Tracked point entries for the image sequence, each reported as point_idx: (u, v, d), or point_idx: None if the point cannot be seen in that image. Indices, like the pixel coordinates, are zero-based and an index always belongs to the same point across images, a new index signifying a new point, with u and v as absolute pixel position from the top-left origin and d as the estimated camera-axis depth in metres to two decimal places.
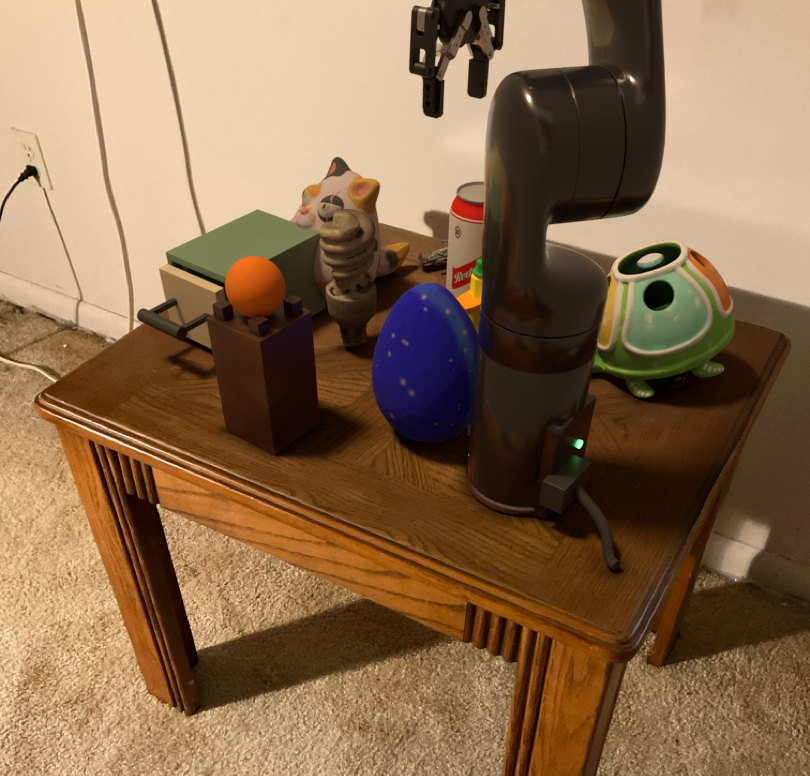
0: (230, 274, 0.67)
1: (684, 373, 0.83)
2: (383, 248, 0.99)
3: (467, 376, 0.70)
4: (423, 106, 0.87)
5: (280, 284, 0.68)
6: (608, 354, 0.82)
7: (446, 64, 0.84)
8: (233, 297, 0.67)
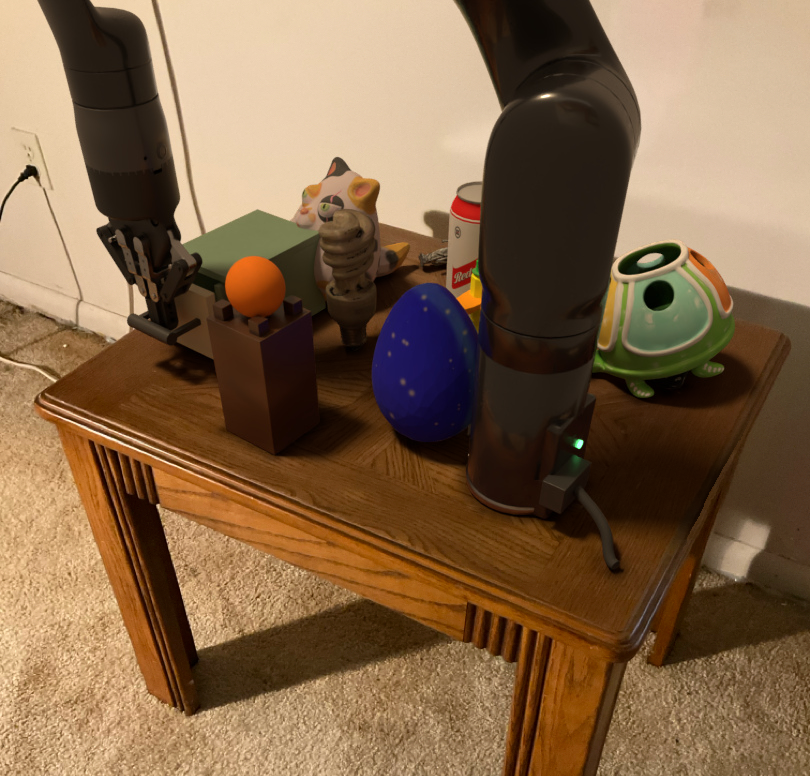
0: (230, 274, 0.67)
1: (684, 373, 0.83)
2: (383, 248, 0.99)
3: (467, 376, 0.70)
4: None
5: (280, 284, 0.68)
6: (608, 354, 0.82)
7: (141, 280, 0.79)
8: (233, 297, 0.67)
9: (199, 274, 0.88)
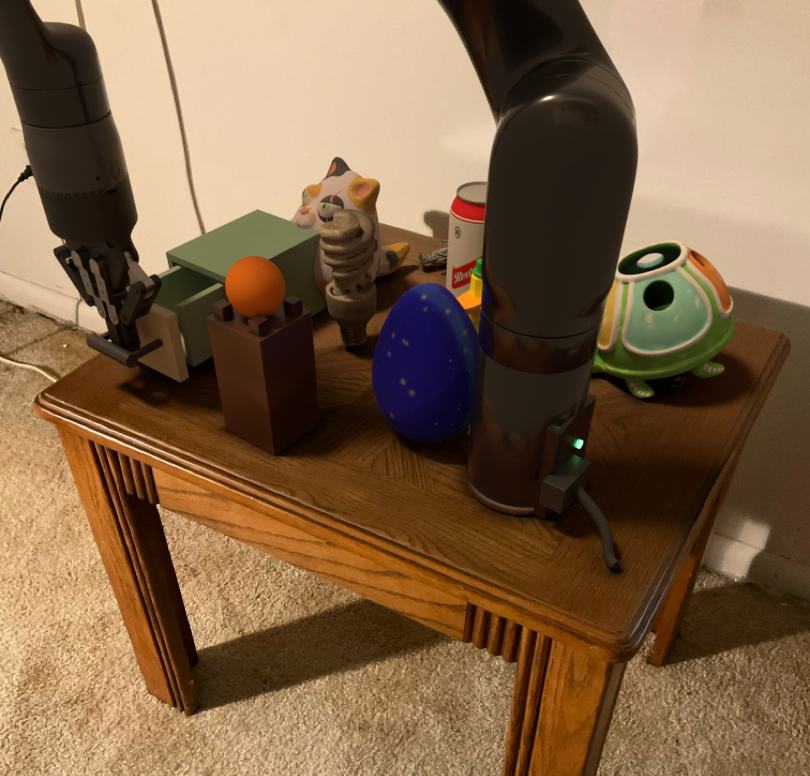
0: (230, 274, 0.67)
1: (684, 373, 0.83)
2: (383, 248, 0.99)
3: (467, 376, 0.70)
4: None
5: (280, 284, 0.68)
6: (608, 354, 0.82)
7: (100, 302, 0.77)
8: (233, 297, 0.67)
9: (163, 292, 0.85)
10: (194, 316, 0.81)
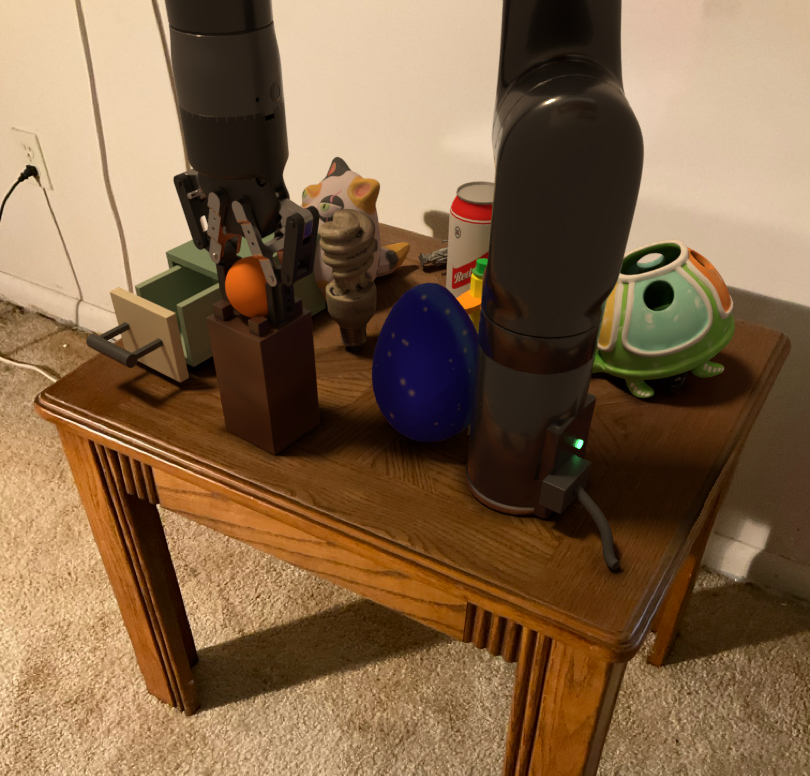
0: (230, 274, 0.67)
1: (684, 373, 0.83)
2: (383, 248, 0.99)
3: (467, 376, 0.70)
4: None
5: None
6: (608, 354, 0.82)
7: (217, 247, 0.67)
8: (233, 297, 0.67)
9: (163, 292, 0.85)
10: (194, 316, 0.81)
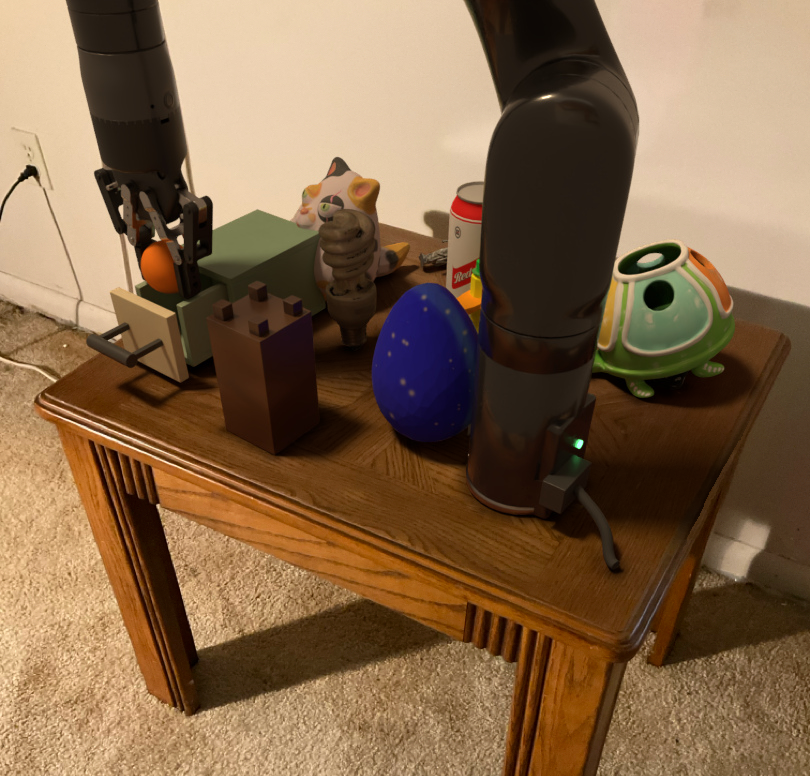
0: (144, 255, 0.79)
1: (684, 373, 0.83)
2: (383, 248, 0.99)
3: (467, 376, 0.70)
4: None
5: None
6: (608, 354, 0.82)
7: (133, 232, 0.78)
8: (146, 275, 0.79)
9: None
10: (194, 316, 0.81)
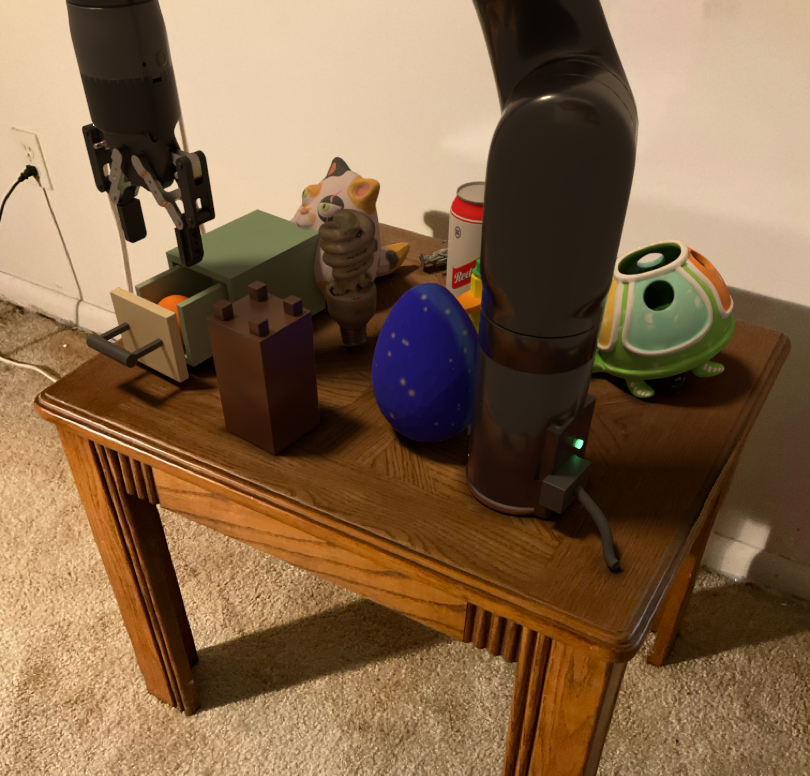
0: None
1: (684, 373, 0.83)
2: (383, 248, 0.99)
3: (467, 376, 0.70)
4: None
5: None
6: (608, 354, 0.82)
7: (117, 191, 0.76)
8: None
9: (163, 292, 0.85)
10: (194, 316, 0.81)
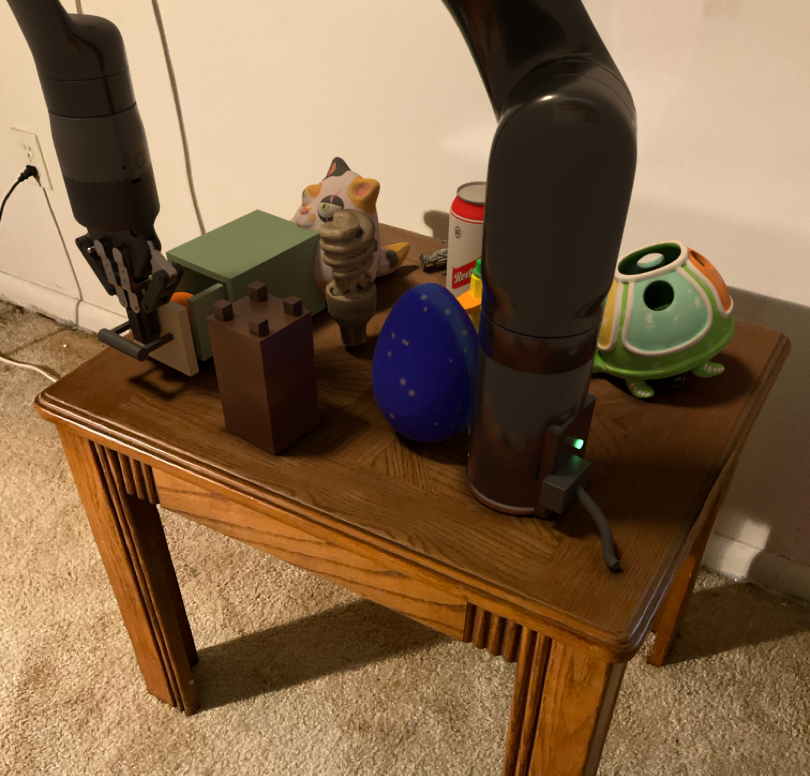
0: None
1: (684, 373, 0.83)
2: (383, 248, 0.99)
3: (467, 376, 0.70)
4: None
5: None
6: (608, 354, 0.82)
7: (121, 291, 0.78)
8: None
9: None
10: (204, 310, 0.82)
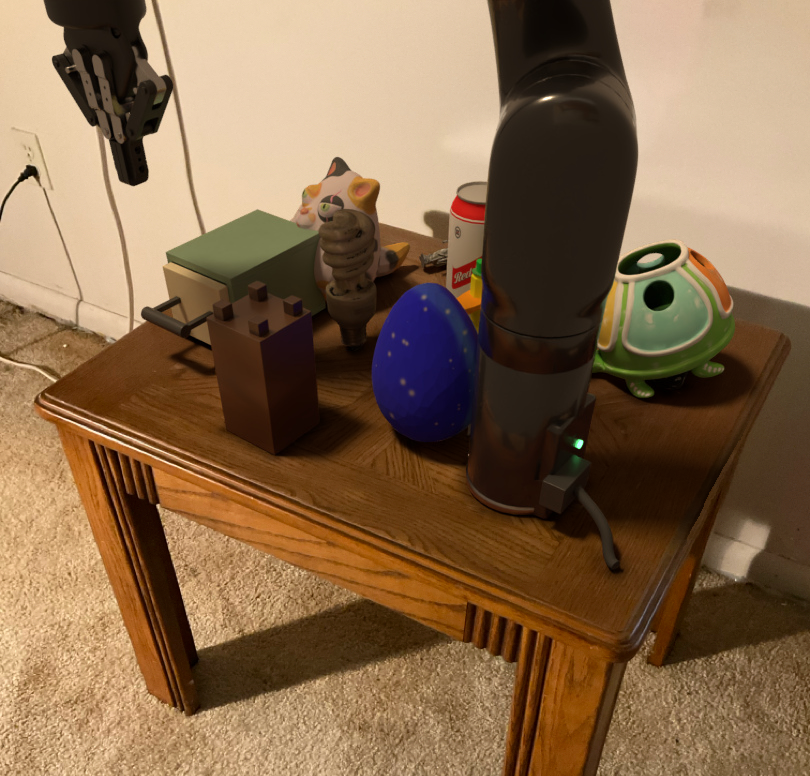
0: None
1: (684, 373, 0.83)
2: (383, 248, 0.99)
3: (467, 376, 0.70)
4: None
5: None
6: (608, 354, 0.82)
7: (103, 117, 0.69)
8: None
9: None
10: None
